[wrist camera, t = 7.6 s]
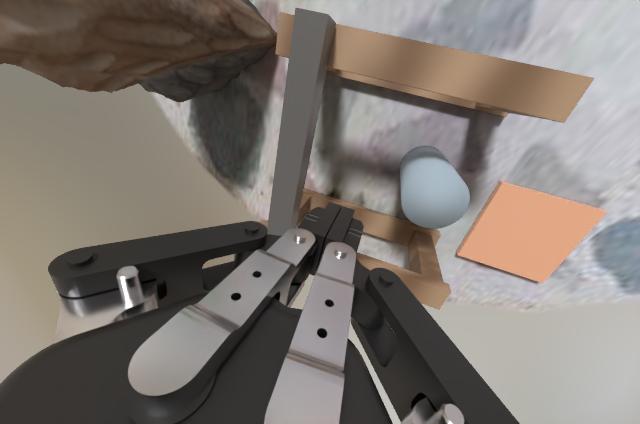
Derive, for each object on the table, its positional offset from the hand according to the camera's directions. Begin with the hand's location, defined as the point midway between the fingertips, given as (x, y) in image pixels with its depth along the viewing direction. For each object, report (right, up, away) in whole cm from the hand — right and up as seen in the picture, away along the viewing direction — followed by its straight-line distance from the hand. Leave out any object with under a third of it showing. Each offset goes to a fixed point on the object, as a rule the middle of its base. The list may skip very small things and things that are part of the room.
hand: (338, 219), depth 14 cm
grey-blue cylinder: (+11, +6, +14) cm, 19 cm away
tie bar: (-3, +4, +6) cm, 8 cm away
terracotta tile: (+22, -2, +14) cm, 27 cm away
